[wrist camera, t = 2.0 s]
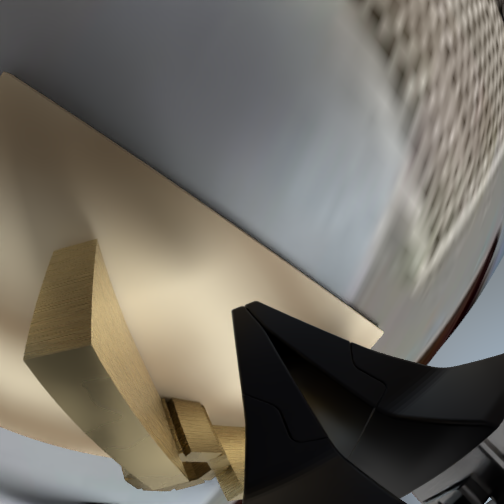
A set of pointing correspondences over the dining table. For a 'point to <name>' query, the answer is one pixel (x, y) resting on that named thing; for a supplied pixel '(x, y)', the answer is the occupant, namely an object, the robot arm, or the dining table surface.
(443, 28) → the dining table surface
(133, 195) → the mount board
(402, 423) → the robot arm
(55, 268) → the loose leaf
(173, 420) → the hinge base
